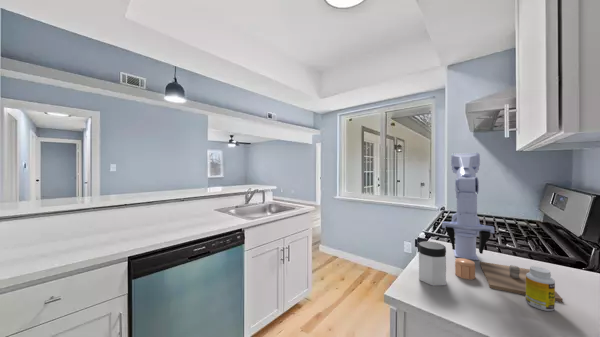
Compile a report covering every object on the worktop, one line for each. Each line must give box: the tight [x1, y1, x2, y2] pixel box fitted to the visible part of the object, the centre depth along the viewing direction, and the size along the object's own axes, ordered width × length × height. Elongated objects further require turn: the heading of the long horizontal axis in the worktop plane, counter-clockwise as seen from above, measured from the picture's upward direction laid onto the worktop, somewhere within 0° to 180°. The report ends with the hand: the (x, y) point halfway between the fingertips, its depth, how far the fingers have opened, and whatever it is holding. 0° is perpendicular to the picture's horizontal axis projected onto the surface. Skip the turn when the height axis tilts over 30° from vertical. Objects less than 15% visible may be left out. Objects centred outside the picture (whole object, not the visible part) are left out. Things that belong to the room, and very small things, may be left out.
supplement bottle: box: [525, 265, 556, 312], centre depth 64 cm, size 6×6×10 cm
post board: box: [479, 261, 564, 303], centre depth 78 cm, size 20×16×4 cm
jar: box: [418, 240, 447, 287], centre depth 79 cm, size 9×8×12 cm
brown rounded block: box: [454, 257, 476, 281], centre depth 81 cm, size 6×6×5 cm
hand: (466, 250), depth 80 cm, fingers open, 7 cm apart
